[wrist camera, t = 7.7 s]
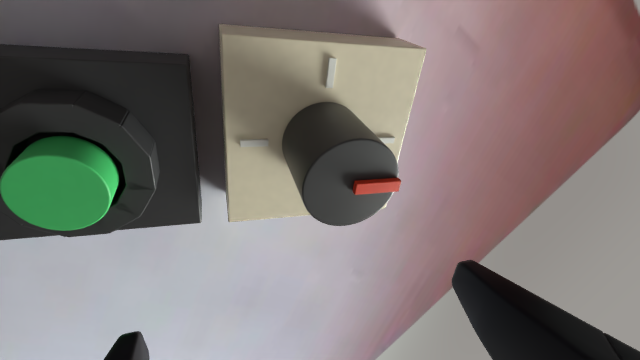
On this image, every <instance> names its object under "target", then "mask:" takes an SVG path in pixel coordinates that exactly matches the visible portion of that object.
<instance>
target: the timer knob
mask: <svg viewBox="0 0 640 360" xmlns="http://www.w3.org/2000/svg"><path fill="white" fill-rule="evenodd" d="M282 150H283V155H284V158H285V160H286V162H287V165H288V167H289V170H290V172H291V174H292V177H293V179H294V182H295V184H296V187H297V189H298V191H299V194H300V196H301V199H302V201H303V203H304V206H305V208H306V209H307V211H308V212H309V213H310V214H311V215H312V216H313V217H314V218H315V219H317V220H318V221H320V222H322V223H325V224H328V225H333V226H345V225H351V224H355V223H358V222H361V221H363V220H365V219H367V218H369V217H371V216H372V215H374V214H375V213H376V212H378V211H379V210H380V209H381V208H382V207H383V206H384V205H385V204H386V203H387V201H388V200H389V199H390V197H391V196H392V194H393V192H397V191H399V188H400V184H401V180H400V179H399V178H398V173H399V171H398V164H397V160H396V158H395V156H394V154H393V153H392V151H391V150H390V149H389V148H388V147H387V146H386V145H385V144H384V143H383V142H382V141H381V140H380V139H379V138H378V137H377V136H376V135H375V134H374V133H373V132H372V131H371V130H370V129H369V128H368V127H367V126H366V125H365V124H364V123H363V122H362V121H361V120H360V119H359V118H358V117H357V116H356V115H355V114H354V113H353V112H352V111H351V110H349V109H348V108H347V107H345V106H343V105H341V104H338V103H334V102H320V103H315V104H312V105H310V106H308V107H305V108H304V109H302V110H301V111H299V112H298V113H297V114H296V115H295V116H294V117H293V118H292V119H291V121H290V122H289V123H288V125H287V127H286V129H285V131H284V134H283V139H282Z"/></svg>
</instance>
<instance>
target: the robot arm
mask: <svg viewBox="0 0 640 360" xmlns="http://www.w3.org/2000/svg"><path fill="white" fill-rule="evenodd" d="M452 286H453V288H454V290H455V292H456V294H457V296H458V298H459V300H460V302H461V304H462V306H463V308H464V310H465V312H466V314H467V316H468V318H469V320H470V322H471V324H472V326H473V328H474V330H475V332H476V333H477V335H478V337H479V339H480V340H481V342H482V343H483V345H484V347H485V348H486V350H487V351H488V353H489V355H490V356H491V358H492V359H493V360H640V352H639V351H638V350H636V349H634V348H632V347H630V346H628V345H626V344H625V343H623V342H621V341H619V340H617V339H615V338H613V337H612V336H610V335H608V334H606V333H603V332H602V331H601V330H599V329H597V328H595V327H593V326H591V325H590V324H588V323H586V322H584V321H582V320H580V319H578V318H577V317H575V316H573V315H571V314H570V313H568V312H566V311H564V310H562V309H560V308H559V307H557V306H555V305H553V304H551V303H550V302H548V301H546V300H544V299H542V298H540V297H539V296H537V295H535V294H533V293H531V292H529V291H528V290H526V289H524V288H522V287H520V286H519V285H517V284H515V283H513V282H511V281H510V280H508V279H506V278H504V277H502V276H500V275H498V274H497V273H495V272H493V271H491V270H489V269H488V268H486V267H484V266H482V265H480V264H479V263H477V262H475V261H473V260H466V261H462V262H459V263H458V264H457V267H456V269H455V272H454V275H453V278H452ZM104 360H149V351H148V348H147V346H146V343H145V341H144V338H143V336H142V334H141V332H139V331H136V332H131V333H126V334H123V335H121V336H120V337H119V338H118V339H117V341H116V342H115V344H114V345H113V347H112V348H111V350H110V351H109V353H108V354H107V356H106V357H105V358H104Z"/></svg>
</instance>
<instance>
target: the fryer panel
mask: <svg viewBox="0 0 640 360" xmlns="http://www.w3.org/2000/svg"><path fill="white" fill-rule="evenodd" d="M219 40H220V64H221V88H222V112H223V136H224V160H225V183H226V200H227V211H228V221H229V222H237V221H248V220H259V219H271V218H282V217H293V216H305V215H311V214H310V213H309V212H308V211H307V209H306V208H305V206H304V203H303V201H302V199H301V196H300V194H299V191H298V189H297V187H296V184H295V182H294V179H293V177H292V174H291V172H290V170H289V167H288V165H287V162H286V160H285V158H284V155H283V150H282V139H283V134H284V131H285V129H286V127H287V125H288V123H289V122H290V121H291V119H292V118H293V117H294V116H295V115H296V114H297V113H298V112H299V111H301V110H302V109H304V108H305V107H308V106H310V105H312V104H315V103H320V102H334V103H338V104H341V105H343V106H345V107H347V108H348V109H349V110H351V111H352V112H353V113H354V114H355V115H356V116H357V117H358V118H359V119H360V120H361V121H362V122H363V123H364V124H365V125H366V126H367V127H368V128H369V129H370V130H371V131H372V132H373V133H374V134H375V135H376V136H377V137H378V138H379V139H380V140H381V141H382V142H383V143H384V144H385V145H386V146H387V147H388V148H389V149H390V150H391V151H392V153H393V154H394V156H395V158H396V160H397V162H398V158H399V154H400V150H401V146H402V142H403V138H404V134H405V131H406V127H407V123H408V119H409V115H410V111H411V107H412V103H413V100H414V96H415V92H416V88H417V84H418V80H419V76H420V72H421V69H422V65H423V61H424V57H425V53H426V48H423V47H421V46H418V45H415V44H413V43H410V42H407V41H405V40H402V39H399V38H388V37H376V36H363V35H351V34H338V33H326V32H313V31H301V30H289V29H276V28H264V27H251V26H239V25H227V24H219ZM386 204H387V203H386ZM386 204H385V205H384V206H383V207H382V208H381V209H384V208H386Z"/></svg>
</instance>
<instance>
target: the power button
mask: <svg viewBox="0 0 640 360" xmlns="http://www.w3.org/2000/svg"><path fill="white" fill-rule="evenodd" d="M118 184H119V172H118V169H117V167H116V165H115V163H114V161H113V160H112V158H111V157H110V156H109V155H108V154H107V153H106V152H105V151H104V150H102V149H101V148H100V147H98V146H96V145H95V144H93V143H91V142H88V141H86V140H83V139H80V138H75V137H69V136H52V137H46V138H43V139H40V140H38V141H35V142H34V143H32V144H30V145H29V146H28V147H27V148H26V149H25V150H24V151H23V152H22V153H21V154H20V155H19V156H18V157H17V158H16V159H15V160H14V161H13V162H12V163H11V164H10V165H9V166H8V167H7V168H6V169H5V171H4V172H3V174H2V176H1V179H0V194H1V196H2V199H3V201H4V203H5V204H6V205H7V207H8V208H9V209H10V210H11V211H12V212H13V213H14V214H16V215H17V216H18V217H20V218H21V219H23V220H24V221H26V222H28V223H30V224H33V225H35V226H38V227H42V228H46V229H51V230H62V231H65V230H76V229H81V228H84V227H87V226H90V225H92V224H94V223H96V222H97V221H99V220H100V219H101V218H102V217H103V216H104V215H105V214H106V213H107V211H108V209H109V207H110V205H111V202H112V200H113V197H114V194H115V192H116V189H117V187H118Z"/></svg>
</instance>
